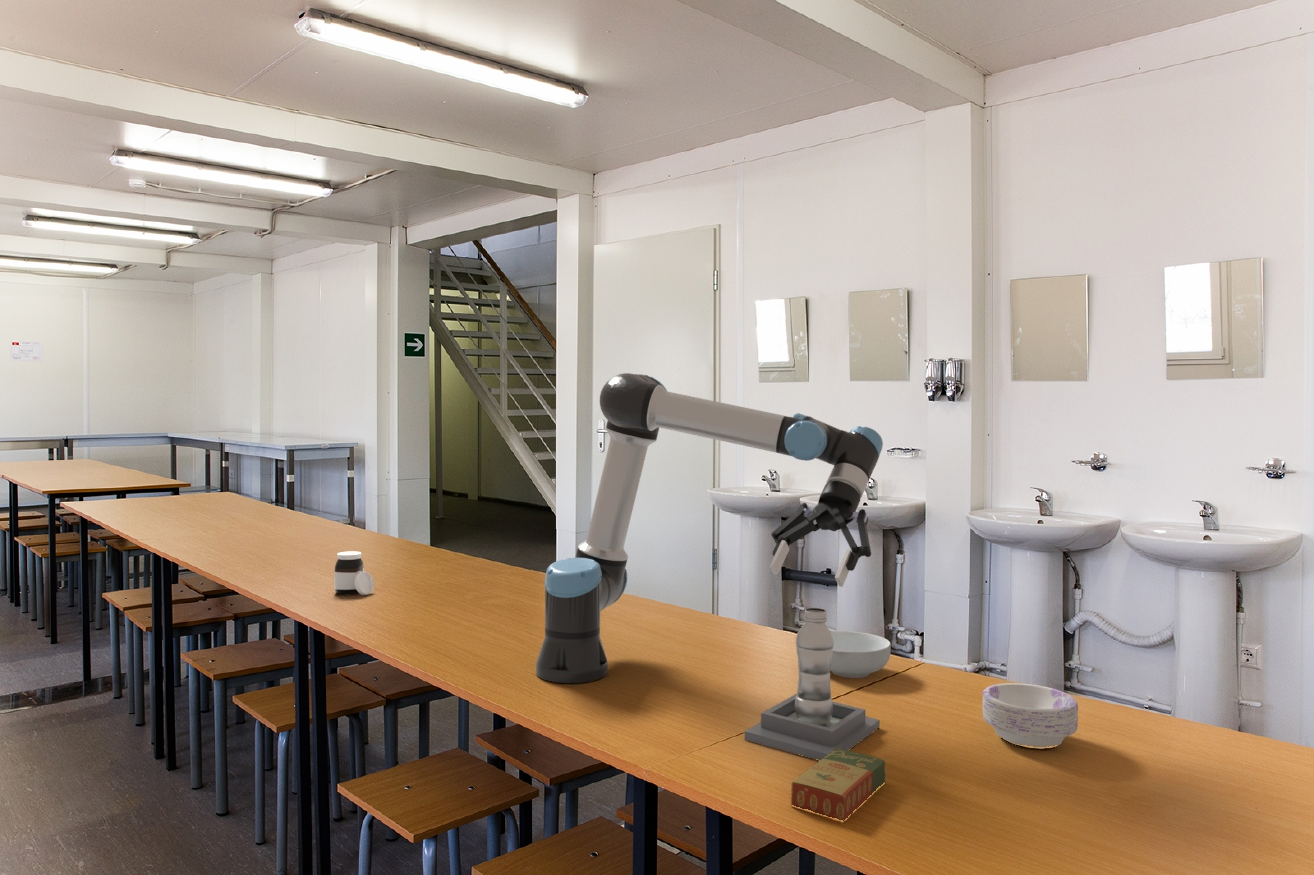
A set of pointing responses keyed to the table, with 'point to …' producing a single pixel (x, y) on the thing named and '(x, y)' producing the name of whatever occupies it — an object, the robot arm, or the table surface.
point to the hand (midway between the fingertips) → (804, 576)
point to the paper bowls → (1030, 713)
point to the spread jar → (351, 574)
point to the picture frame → (811, 730)
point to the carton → (838, 783)
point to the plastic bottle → (814, 669)
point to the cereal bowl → (858, 653)
